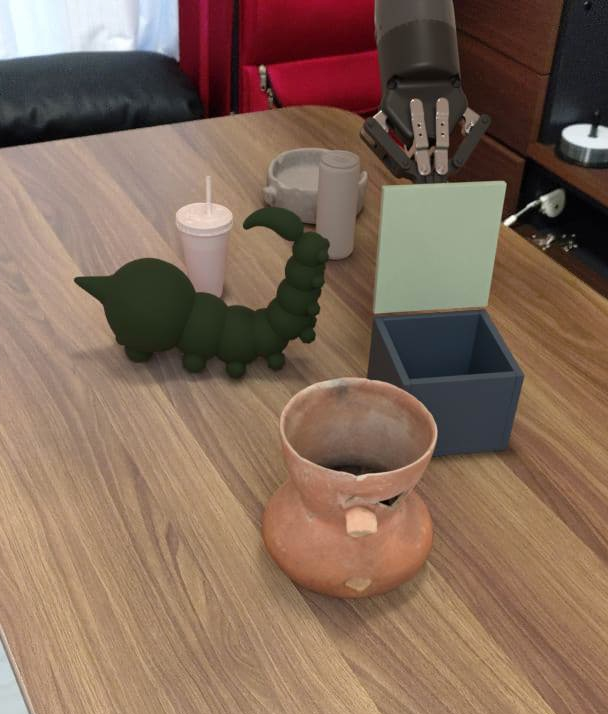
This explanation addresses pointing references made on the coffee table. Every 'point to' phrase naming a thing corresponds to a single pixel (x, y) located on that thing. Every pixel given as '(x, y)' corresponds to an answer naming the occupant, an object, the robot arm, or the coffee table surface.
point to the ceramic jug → (352, 488)
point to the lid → (437, 245)
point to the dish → (300, 183)
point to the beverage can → (338, 201)
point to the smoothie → (205, 242)
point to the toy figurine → (215, 305)
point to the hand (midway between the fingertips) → (434, 219)
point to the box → (451, 374)
